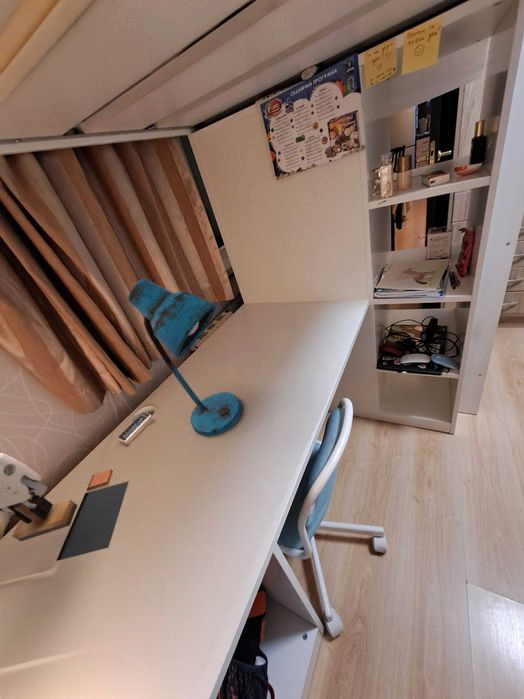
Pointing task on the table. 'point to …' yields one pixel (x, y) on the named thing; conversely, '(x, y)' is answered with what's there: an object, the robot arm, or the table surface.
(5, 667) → the table surface
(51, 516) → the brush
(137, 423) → the multiport hub
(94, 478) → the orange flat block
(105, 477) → the orange square tile
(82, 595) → the table surface
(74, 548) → the mat
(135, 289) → the desk lamp
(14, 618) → the table surface
